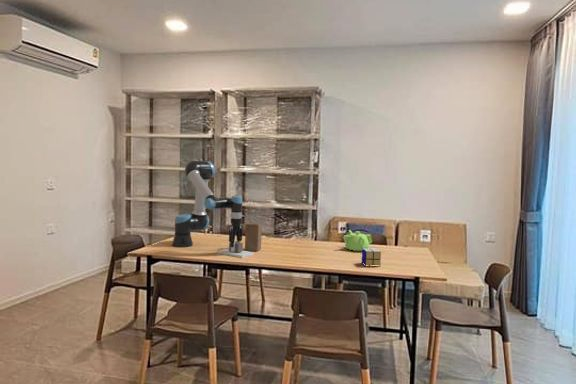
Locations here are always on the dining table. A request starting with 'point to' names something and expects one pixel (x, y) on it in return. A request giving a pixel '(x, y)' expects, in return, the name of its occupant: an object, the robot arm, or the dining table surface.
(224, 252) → the board
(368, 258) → the puzzle cube
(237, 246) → the sanding block
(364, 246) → the teapot
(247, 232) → the wooden block
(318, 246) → the dining table surface
